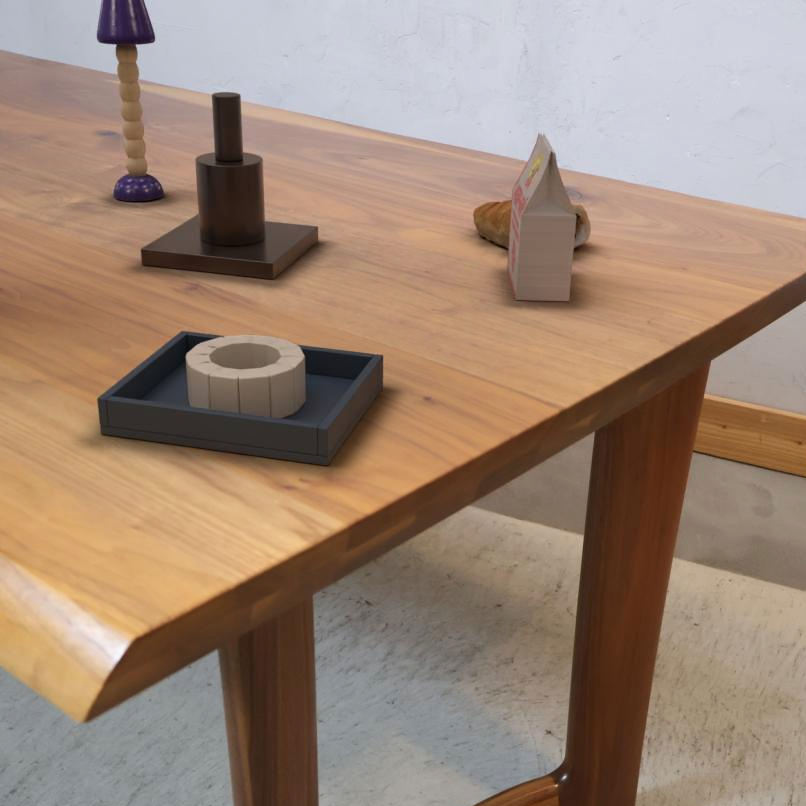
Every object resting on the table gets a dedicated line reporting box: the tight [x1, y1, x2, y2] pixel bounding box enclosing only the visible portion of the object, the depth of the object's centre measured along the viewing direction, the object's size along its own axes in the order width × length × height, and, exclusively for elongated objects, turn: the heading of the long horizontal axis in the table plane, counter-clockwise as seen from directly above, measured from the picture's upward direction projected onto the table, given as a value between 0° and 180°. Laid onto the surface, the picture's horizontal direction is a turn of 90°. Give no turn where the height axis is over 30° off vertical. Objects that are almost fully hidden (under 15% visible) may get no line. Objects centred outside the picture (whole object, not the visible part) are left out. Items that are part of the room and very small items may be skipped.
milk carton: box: [506, 132, 576, 302], centre depth 80 cm, size 4×7×10 cm, turn 2°
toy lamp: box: [96, 0, 165, 202], centre depth 96 cm, size 5×5×17 cm
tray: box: [96, 330, 384, 467], centre depth 61 cm, size 12×10×2 cm
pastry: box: [472, 199, 592, 250], centre depth 91 cm, size 9×7×4 cm
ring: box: [186, 333, 306, 419], centre depth 61 cm, size 6×6×3 cm
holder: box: [140, 91, 319, 280], centre depth 84 cm, size 10×10×12 cm
